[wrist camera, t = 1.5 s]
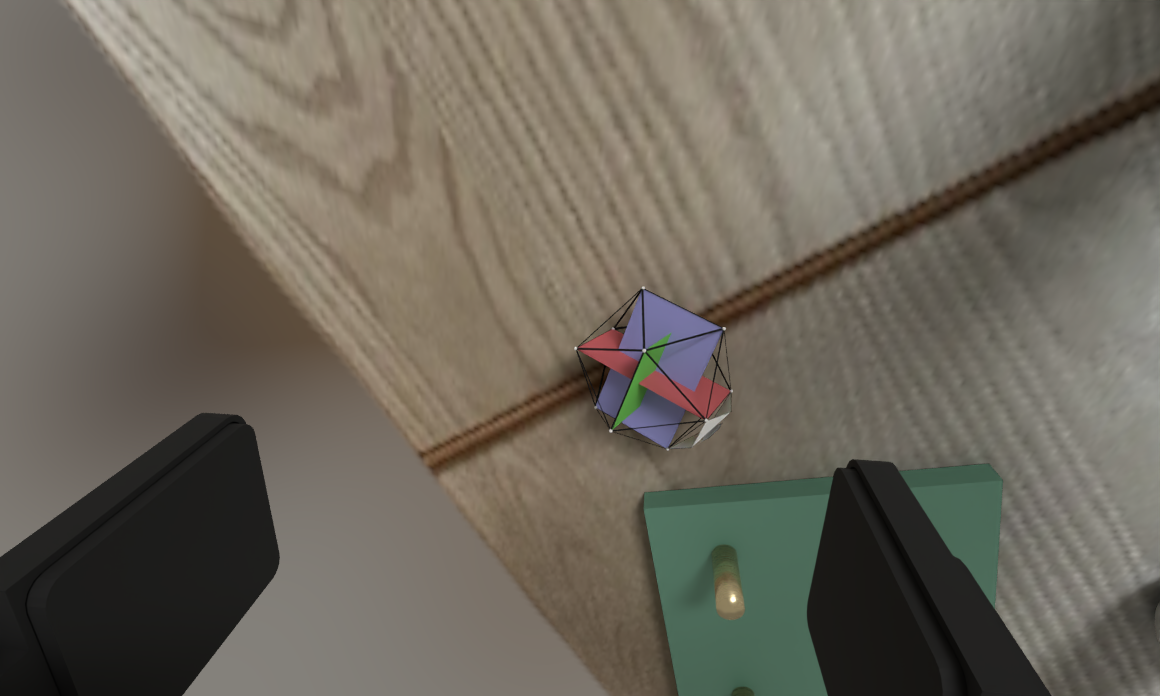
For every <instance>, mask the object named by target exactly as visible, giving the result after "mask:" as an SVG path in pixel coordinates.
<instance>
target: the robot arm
mask: <svg viewBox="0 0 1160 696" xmlns="http://www.w3.org/2000/svg"><path fill="white" fill-rule="evenodd" d="M279 558H280V557H279V550H278V544H277V540H276V535H275V530H274V525H273V520H272V515H271V510H270V505H269V500H268V495H267V491H266V485H265V480H264V475H263V470H262V466H261V461H260V456H259V451H258V446H257V441H256V436H255V432H254V429H253V428H252V427H251V426H250V425H247V424H246V422H245V421H244V419H243V418H242V417H240V416H238V415H230V414H215V413H201V414H199V415H197V416H195V417H194V418H193V419H192V420H190V421H189V422H187V423H186V424H184V425H183V426H182V427H180V428H179V429H177V430H176V431H175V432H173V433H172V434H170V435H169V436H168V437H166V438H165V439H163V440H162V441H161V442H159V443H158V444H157V445H155V446H154V447H153V448H151V449H150V450H148V451H147V452H145V453H144V454H143V455H141V456H140V457H139V458H137V459H136V460H134V461H133V462H132V463H130V464H129V465H127V466H126V467H125V468H123V469H122V470H121V471H119V472H118V473H116V474H115V475H114V476H112V477H111V478H110V479H108V480H107V481H105V482H104V483H102V484H101V485H100V486H98V487H97V488H96V489H94V490H93V491H91V492H90V493H89V494H87V495H86V496H85V497H83V498H82V499H80V500H79V501H78V502H77V503H75V504H73V505H72V506H71V507H69V508H68V509H67V510H65V511H64V512H62V513H61V514H59V515H58V516H57V517H55V518H54V519H53V520H51V521H50V522H48V523H47V524H46V525H44V526H43V527H41V528H40V529H39V530H37V531H36V532H34V533H33V534H32V535H30V536H29V537H28V538H26V539H25V540H23V541H22V542H21V543H19V544H18V545H17V546H15V547H14V548H12V549H11V550H10V551H8V552H7V553H5V554H4V555H3V556H1V557H0V696H182V695H183V694H184V693H185V691H186V690H187V689H188V687H189V686H190V685H191V684H192V682H193V681H194V680H195V678H196V677H197V676H198V674H199V673H200V672H201V670H202V669H203V668H204V667H205V665H206V664H207V663H208V662H209V660H210V659H211V658H212V656H213V655H214V654H215V652H216V651H217V650H218V649H219V647H220V646H221V645H222V643H223V642H224V641H225V639H226V638H227V637H228V636H229V634H230V633H231V632H232V630H233V629H234V628H235V627H236V625H237V624H238V623H239V621H240V620H241V618H243V616H244V615H245V614H246V612H247V611H248V610H249V608H250V607H251V606H252V605H253V603H254V602H255V601H256V599H257V598H258V597H259V595H260V594H261V593H262V592H263V590H264V589H265V588H266V586H267V585H268V584H269V582H270V581H271V580H272V579H273V577H274V575H275V574H276V571H277V569H278V565H279ZM807 623H808V628H809V632H810V636H811V639H812V643H813V646H814V649H815V653H816V656H817V660H818V663H819V667H820V670H821V674H822V677H823V681H824V684H825V688H826V691H827V695H828V696H1051V694H1050V693H1049V691H1048V690H1047V688H1046V687H1045V685H1044V684H1043V682H1042V681H1041V679H1040V677H1039V676H1038V674H1037V673H1036V671H1035V670H1034V668H1033V667H1032V665H1031V664H1030V662H1029V661H1028V659H1027V658H1026V656H1025V655H1024V653H1023V652H1022V650H1021V649H1020V647H1019V645H1018V644H1017V642H1016V641H1015V639H1014V638H1013V636H1012V635H1011V633H1010V632H1009V630H1008V629H1007V627H1006V626H1005V624H1004V623H1003V621H1002V620H1001V618H1000V616H999V615H998V613H997V612H996V610H995V609H994V607H993V606H992V604H991V603H990V601H989V600H988V598H987V597H986V595H985V594H984V592H983V591H982V589H981V588H980V586H979V584H978V583H977V581H976V580H975V578H974V577H973V575H972V574H971V572H970V571H969V569H968V568H967V566H966V565H965V564H964V563H963V562H962V561H961V560H960V559H959V558H957V557H955V556H953V555H952V553H951V552H950V550H949V549H948V547H947V546H946V544H945V543H944V541H943V539H942V538H941V536H940V535H939V533H938V532H937V530H936V528H935V527H934V525H933V524H932V522H931V521H930V519H929V518H928V516H927V514H926V513H925V511H924V510H923V508H922V507H921V505H920V504H919V502H918V500H917V499H916V497H915V496H914V494H913V493H912V491H911V490H910V488H909V486H908V485H907V483H906V482H905V480H904V479H903V477H902V475H901V474H900V472H899V471H898V469H897V468H896V466H895V465H894V464H893V463H891V462H882V461H868V460H854V459H852V460H851V461H849V463H848V465H847V467H846V468H837V469H836V471H835V472H834V476H833V480H832V485H831V490H830V495H829V500H828V504H827V509H826V514H825V519H824V524H823V529H822V534H821V539H820V544H819V548H818V553H817V558H816V563H815V568H814V573H813V578H812V583H811V587H810V592H809V597H808V602H807Z"/></svg>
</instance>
